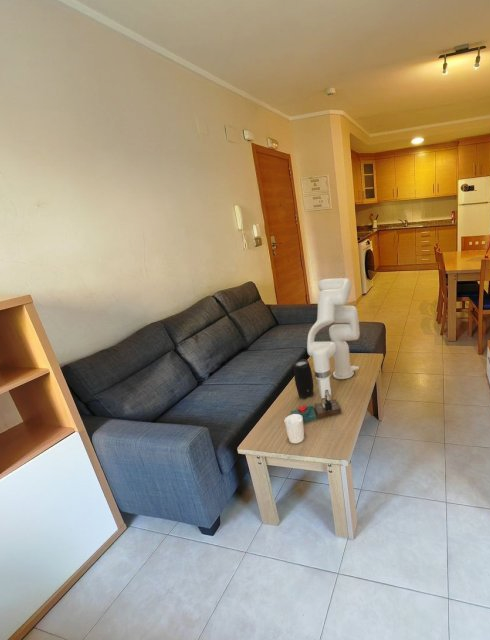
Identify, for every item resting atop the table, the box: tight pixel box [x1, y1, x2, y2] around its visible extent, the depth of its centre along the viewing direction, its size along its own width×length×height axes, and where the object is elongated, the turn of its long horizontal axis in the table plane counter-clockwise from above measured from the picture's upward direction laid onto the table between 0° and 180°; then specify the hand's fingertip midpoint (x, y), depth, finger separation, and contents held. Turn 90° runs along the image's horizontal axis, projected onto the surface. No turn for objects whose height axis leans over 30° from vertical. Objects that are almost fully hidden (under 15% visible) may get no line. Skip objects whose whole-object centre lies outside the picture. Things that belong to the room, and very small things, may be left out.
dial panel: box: [313, 398, 342, 420], centre depth 167 cm, size 11×9×3 cm
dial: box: [321, 396, 332, 408], centre depth 165 cm, size 4×4×5 cm
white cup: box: [284, 414, 305, 444], centre depth 148 cm, size 8×8×10 cm
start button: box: [298, 405, 306, 413], centre depth 163 cm, size 4×4×2 cm
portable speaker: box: [293, 358, 314, 400], centre depth 181 cm, size 9×9×20 cm
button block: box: [290, 405, 317, 424], centre depth 164 cm, size 11×9×4 cm
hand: (326, 405), depth 166 cm, fingers open, 6 cm apart
